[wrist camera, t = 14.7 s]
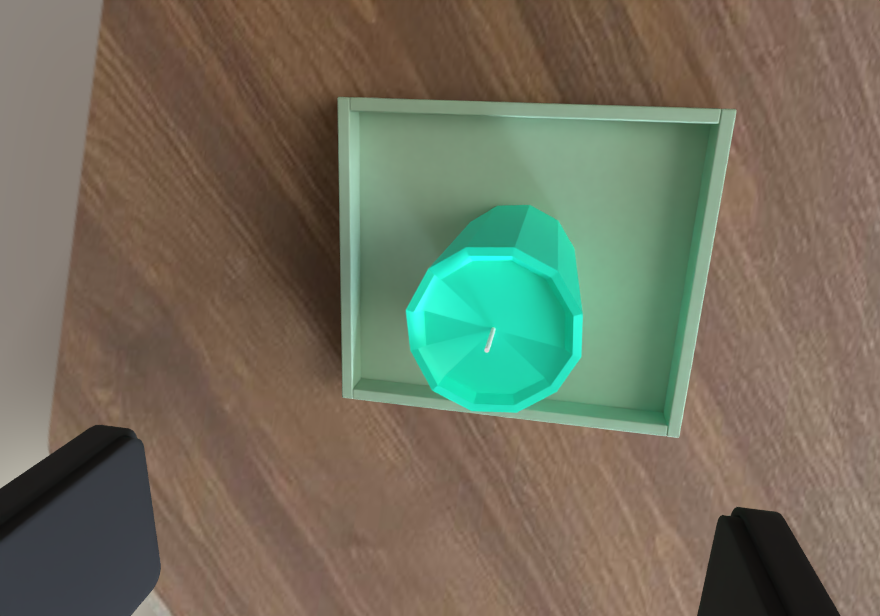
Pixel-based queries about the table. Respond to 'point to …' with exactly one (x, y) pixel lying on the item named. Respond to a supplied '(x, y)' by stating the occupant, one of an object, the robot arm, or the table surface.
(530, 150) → the tray
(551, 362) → the candle
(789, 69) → the table surface
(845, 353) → the table surface
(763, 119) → the table surface
